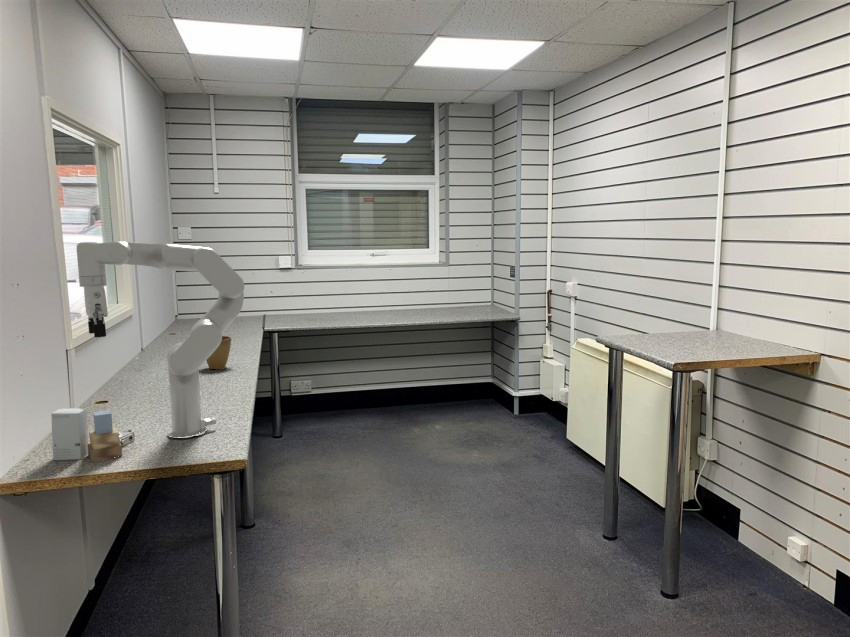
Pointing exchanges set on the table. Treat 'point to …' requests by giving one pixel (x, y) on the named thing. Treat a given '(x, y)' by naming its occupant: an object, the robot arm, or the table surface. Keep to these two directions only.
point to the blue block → (103, 422)
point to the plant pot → (220, 354)
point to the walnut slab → (104, 453)
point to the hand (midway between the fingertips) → (97, 334)
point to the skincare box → (69, 434)
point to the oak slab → (104, 439)
